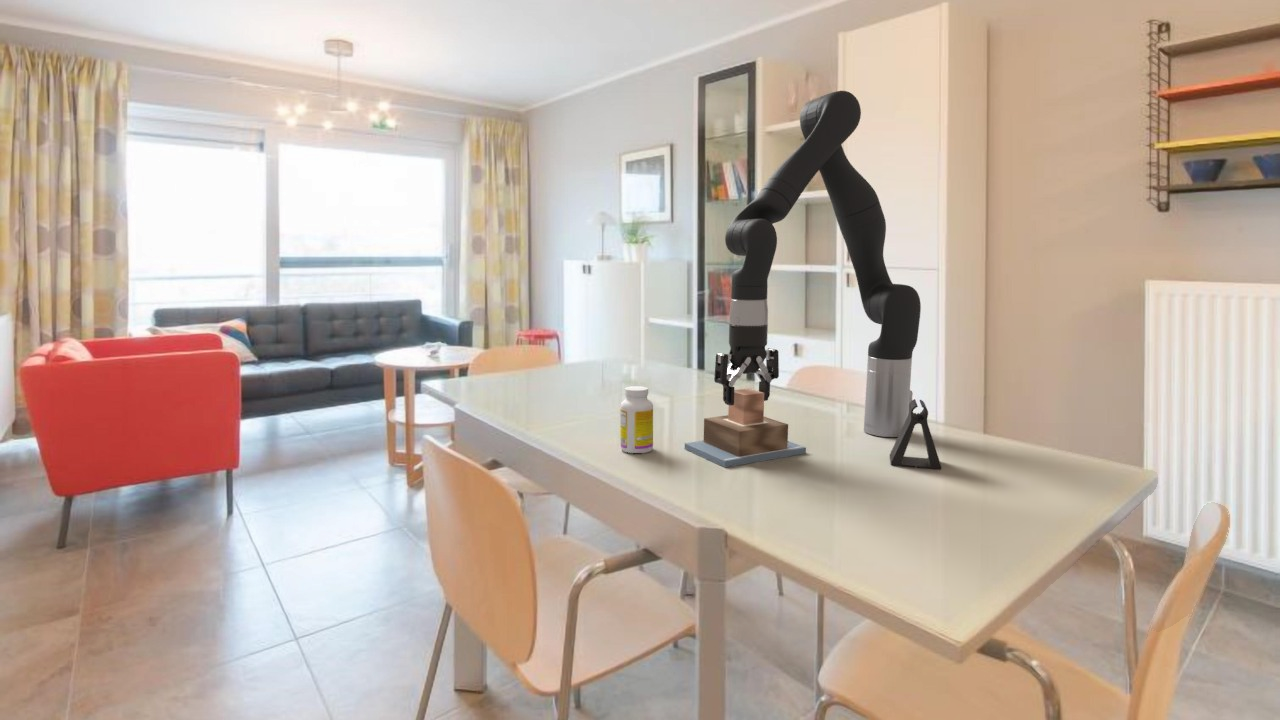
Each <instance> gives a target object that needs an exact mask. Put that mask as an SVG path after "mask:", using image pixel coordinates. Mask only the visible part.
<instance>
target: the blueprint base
mask: <svg viewBox="0 0 1280 720" xmlns="http://www.w3.org/2000/svg"><path fill="white" fill-rule="evenodd" d="M788 438H789V424H788V423H785V422H782V421H779V420H776V419H772V418H769V417H767V416H764V419H763V422H761V423H754V424H747V425H742V424H739V423H736V422H733V421H731V420H728V415H720V416H713V417H705V418H703V440H698V441H697V440H696V441H691V442H685V443H684V450H686V451H688V452H691V453H692V454H695V455H697V456H699V457H701V458H703V459H705V460H707V461H709V462H712V463H714V464H716V465H719V466H721V467H723V468H729V467H736V466H741V465H745V464H746V465H747V464H750V463H751V464H752V463H757V462H763V461H771V460H774V459H776V460H777V459H781V458H786V457H787V458H788V457H791V456H797V455H803V454H807V447H806V446H803V445H801V444H797V443H794V442H792V441H789V440H788Z"/></svg>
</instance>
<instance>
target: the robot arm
mask: <svg viewBox="0 0 1280 720" xmlns="http://www.w3.org/2000/svg"><path fill="white" fill-rule="evenodd" d="M861 110H862V109H861V105H860V103H859V100H858V99H857V97H856V96H855V95H854V94H853V93H852V92H849V91H847V90H837V91H832V92H829V93H827V94H825V95H822V96H819V97H817V98H814V99H811V100H809V101H808V102H806V103H805V105H803V107H802V109H801V110H800V114H799V123H800V124H799V125H800V129H801V134H802V136H803V139H804V141H803V142H802V144H801V145H799V146H798V147H797V148H796V149H795V150H794V151H793V152H792V153H791V154H790V155H789V156H788V157H787V158H786V159H785V160H784V161H783V162H782V163H780V165H779V166H778V167H777V168H776V169H775V170H774V171H773V172H772V174H771V175H770V177H769V178H768V180H767V181H766V182H765V183H764V185H763V187H762V188H761V189H760V191H759V193H758V195H757V196H756V197H755V198H754V199H753V200H752V201H751V202H749V203H748V204H747V205H746V206H745V207H744V208H743V209H742V210H741V211H740V212H739V213H738V214H737V215H736V216H735V217H734V218H733V219H732V220H731V222H730V223H729V225H728V227H727V229H726V231H725V232H726V233H725V237H724V241H725V242H724V243H725V246H726V249H727V250H728V251H729V252H730V253H731V254H733V255H735V256H740V257H741V256H742V257H745V258H744V261H743V264H742V267H741V268H738V269H735V270H734V271H733V272H732V275H731V284H730V287H731V289H730V292H731V293H730V304H729V305H730V306H729V320H728V321H729V323H728V326H729V327H728V328H729V329H728V344H729V348H730V349H729V352H728V353H723V352H717V353H716V355H715V365H714V383H717V384H720V385H722V389H723V390H722V393H723V394H722V400H723V402H724V404H725V405H728V406H729V405H734V390H735V384H736V381H737V380H738V379H740V378H741V377H742V375H745V374H750V373H752V374H754V373H755V374H756V376H757V377H758V379H759V380H760V381H758V391H760V392H763V393H764V402H767V401H768V400H769V398H770V395H771V394H770V392H771V382H772V381H773V380H776V379H778V378H779V374H780V370H779V369H780V367H779V366H780V364H779V363H780V362H779V360H780V359H779V350H778V349H775V348H770V347H769V348H766V346H767V345H768V333H769V331H768V327H769V308H768V307H769V306H768V285H769V284H768V279H769V276H770V272H771V269H772V265H773V262H774V259H775V254H776V251H777V246H778V236H777V235H778V234H777V231H776V228H775V226H774V225H773V224H776V223H779V222H781V221H783V220H784V219H786V217H787V216H788V215H789V213H790V212H791V210H792V209H793V207H794V206H795V204H796V202H797V201H798V200H799V198H800V197H801V195H802V193H803V192H804V190H805V189H806V188H807V186H808V185H809V184H810V182H812V179H813V178H814V177H815V176H816V174H817V173H818V172H819V173H820V176H821V179H822V181H823V184H824V186H825V189H826V191H827V194H828V197H829V200H830V203H831V205H832V208H833V213H834V215H835V218H836V221H837V225H838V227H839V230H840V232H841V236H842V237H843V239H844V243H845V246H846V249H847V252H848V256H849V258H850V261H851V264H852V266H853V270H854V273H855V277H856V282H857V286H858V290H859V294H860V299H861V304H862V308H863V310H864V312H865V315H866V317H868V319H869V320H870V321H871V322H873V323H876V324H877V325H878V324H879V325H881V327H880V328H881V329H880V335H879V337H878V338H877V339H876V340H873V341H871V342H870V343H869V345H868V349H867V366H866V367H867V368H866V382H865V383H866V388H865V402H864V405H865V406H864V416H863V417H864V418H863V419H864V420H863V432H865V433H866V434H869V435H873V436H875V437H876V436H877V437H883V438H898V436H899V434H900V432H901V430H902V427H903V425H904V423H905V421H906V419H907V417H908V414H909V404H910V402H911V401H912V400H913V391H912V390H911V381H912V380H911V377H912V363H913V362H912V360H913V352H914V349H915V347H916V345H917V342H918V335H919V329H920V328H919V327H920V319H921V309H922V307H921V306H922V305H921V298H920V295H919V293H918V291H917V290H916V289H915V288H914V287H913V286H911V285H909V284H902V283H900V284H899V283H893V282H892V280H891V277H890V275H889V273H888V269H887V267H886V263H885V257H884V249H885V241H886V234H887V233H886V232H887V225H886V217H885V215H884V211H883V207H882V205H881V203H880V199H879V196H878V194H877V192H876V191H875V189H874V188H873V186H872V185H871V184H870V183H869V182H868V181H867V179H866V178H865V177H864V176H863V175H862V174H861V173H859V171H858V170H857V169H856V168H855V167H854V166H853V165H852V164H851V162H850V161H849V159H848V157H847V155H846V153H845V151H844V148H843V143H845V142H846V141H847V139H848V138H850V136H851V135H852V134H853V133H854V132H855V130H856V129H857V128H858V126H859V123H860V120H861V116H862V111H861ZM764 361H766V364H765V363H764ZM728 365H729V366H728Z"/></svg>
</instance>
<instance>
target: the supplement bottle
mask: <svg viewBox="0 0 1280 720" xmlns="http://www.w3.org/2000/svg"><path fill="white" fill-rule="evenodd" d="M624 395H625V399H624V400H623V401H621V403H620V406H619V407H620V409H619V410H620V413H619V414H620V421H619V422H620V424H619V425H620V428H619V429H620V431H619V432H620V436H619V437H620V449H621V451H622V450H623V451H622V452H624V453H627V452H628V453H627V454H633V453H642V454H647V453H649V452H650V453H651V451H652V450H653V449H654V404H653V402H652V401H651V400H649V399H648V396H649V388H648V387H646V386H640V385H639V386H638V385H637V386H636V385H635V386H634V385H633V386H632V385H631V386H627V387H625V388H624Z"/></svg>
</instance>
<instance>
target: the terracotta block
mask: <svg viewBox="0 0 1280 720" xmlns="http://www.w3.org/2000/svg"><path fill="white" fill-rule="evenodd" d="M764 410H765V401H764V393H763V392H760V391H759V390H755V389H752V388H742V389H741V388H740V389H734V405H728V420H731V421H733V422H736V423H739V424H742V425H747V424H754V423H761V422H763V419H764V417H765V416H764V414H765V413H764V412H765V411H764Z"/></svg>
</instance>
